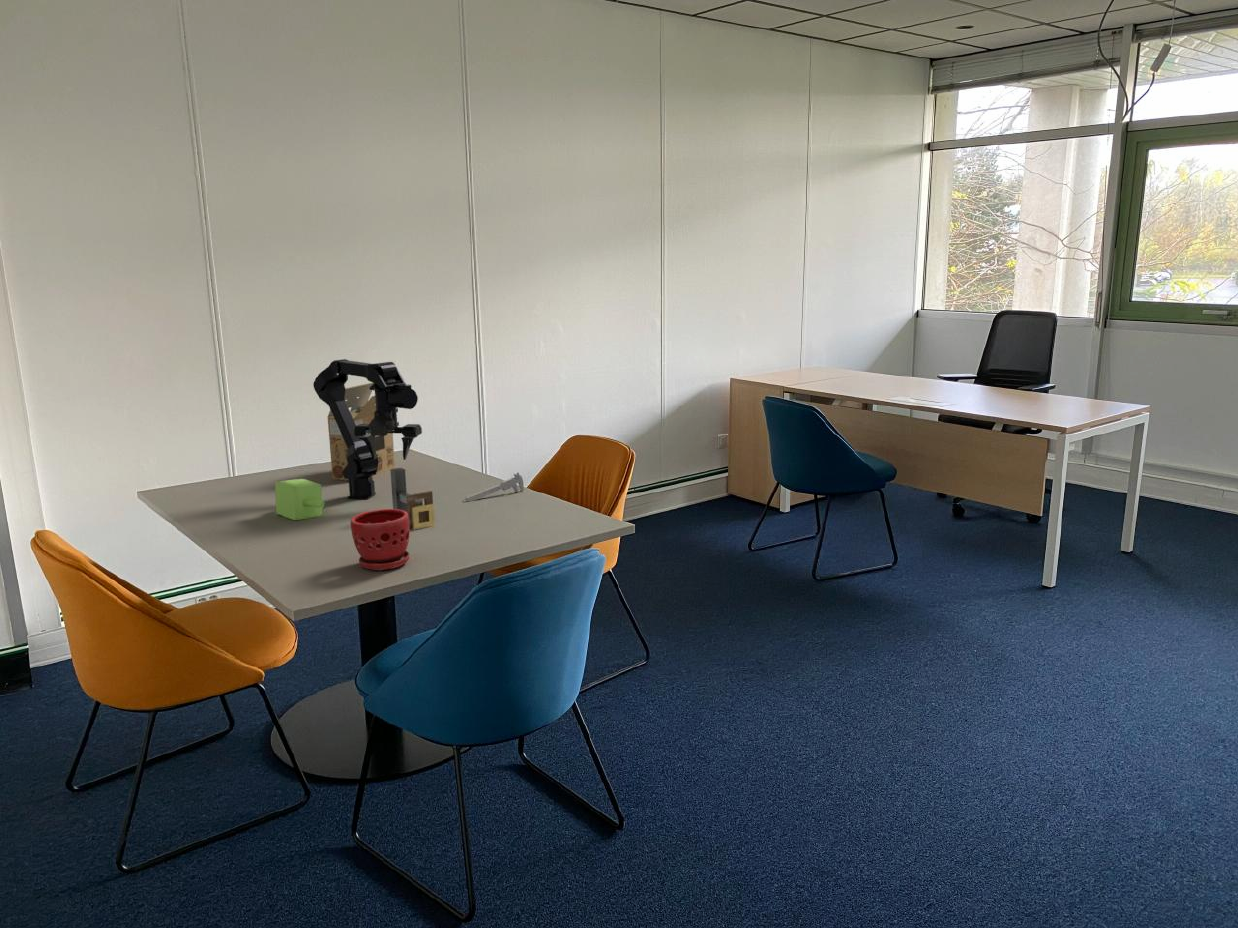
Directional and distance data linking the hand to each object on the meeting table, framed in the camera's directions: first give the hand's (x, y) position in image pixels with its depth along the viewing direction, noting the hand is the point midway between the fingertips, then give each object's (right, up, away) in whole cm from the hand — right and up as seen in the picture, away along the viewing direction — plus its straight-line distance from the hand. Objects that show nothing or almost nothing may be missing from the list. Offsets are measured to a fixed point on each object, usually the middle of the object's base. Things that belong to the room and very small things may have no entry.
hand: (389, 459), depth 271 cm
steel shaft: (+9, -16, -16) cm, 25 cm away
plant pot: (+11, -25, -53) cm, 60 cm away
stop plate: (+13, -18, -21) cm, 30 cm away
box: (-16, -5, +40) cm, 44 cm away
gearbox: (-22, -16, -9) cm, 28 cm away
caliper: (+29, -12, +9) cm, 33 cm away
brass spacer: (+15, -18, -23) cm, 33 cm away
